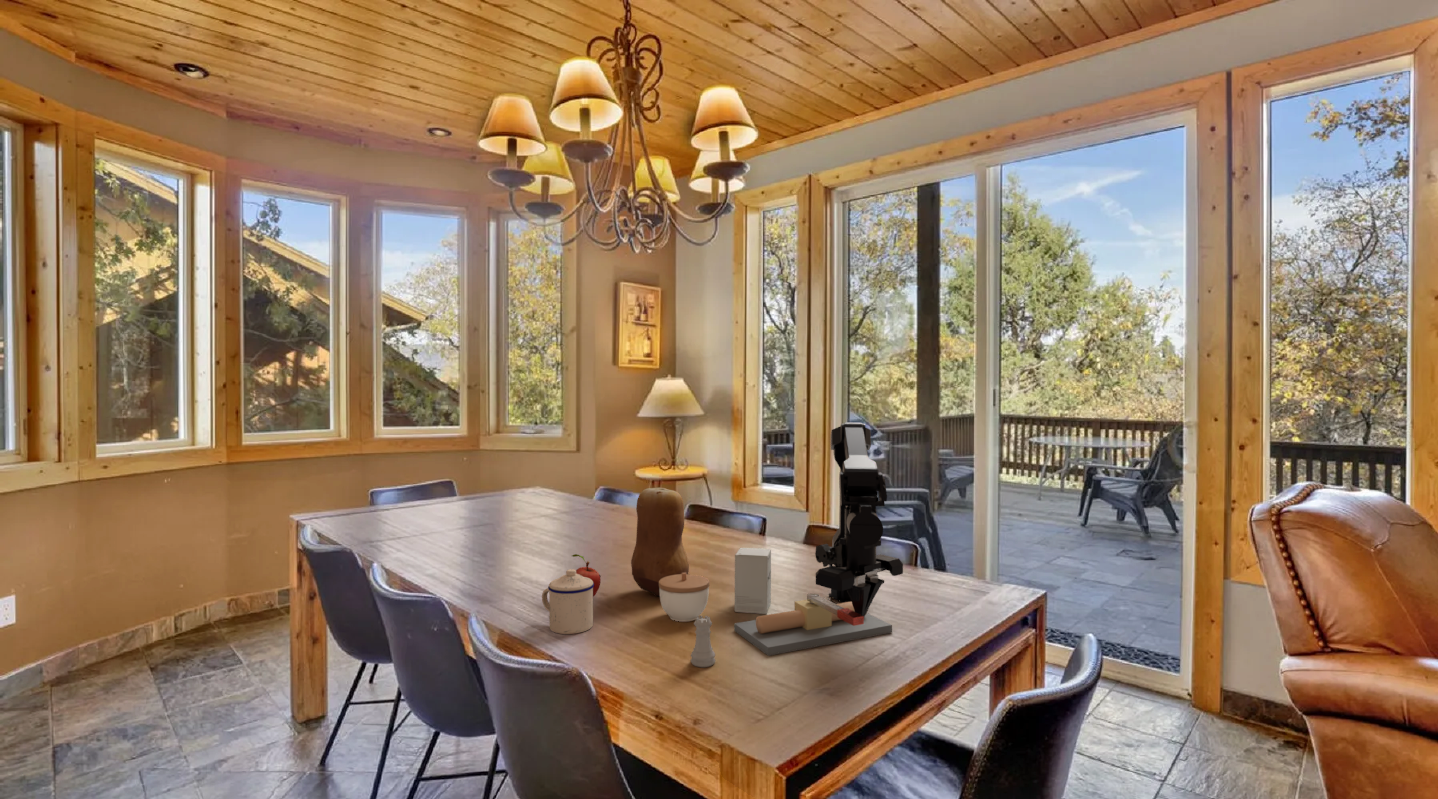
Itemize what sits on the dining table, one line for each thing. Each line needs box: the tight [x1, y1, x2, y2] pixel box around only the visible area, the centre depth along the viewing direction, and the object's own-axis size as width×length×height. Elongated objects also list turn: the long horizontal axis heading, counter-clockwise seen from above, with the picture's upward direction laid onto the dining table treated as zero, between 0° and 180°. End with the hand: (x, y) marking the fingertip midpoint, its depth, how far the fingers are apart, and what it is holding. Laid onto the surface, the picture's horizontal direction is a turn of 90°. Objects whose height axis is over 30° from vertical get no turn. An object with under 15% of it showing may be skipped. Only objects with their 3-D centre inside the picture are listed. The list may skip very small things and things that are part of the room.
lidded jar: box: [659, 573, 710, 623], centre depth 144 cm, size 11×11×9 cm
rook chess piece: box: [690, 615, 716, 668], centre depth 119 cm, size 4×4×8 cm
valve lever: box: [806, 592, 864, 626], centre depth 128 cm, size 16×2×1 cm, turn 25°
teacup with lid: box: [541, 568, 594, 635], centre depth 138 cm, size 12×9×12 cm
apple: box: [571, 553, 602, 598], centre depth 157 cm, size 8×7×10 cm
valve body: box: [733, 599, 893, 657], centre depth 135 cm, size 28×14×6 cm, turn 115°
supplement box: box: [734, 547, 772, 615], centre depth 149 cm, size 7×7×13 cm
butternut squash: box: [630, 487, 690, 597], centre depth 160 cm, size 14×13×25 cm
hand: (860, 617), depth 126 cm, fingers closed
